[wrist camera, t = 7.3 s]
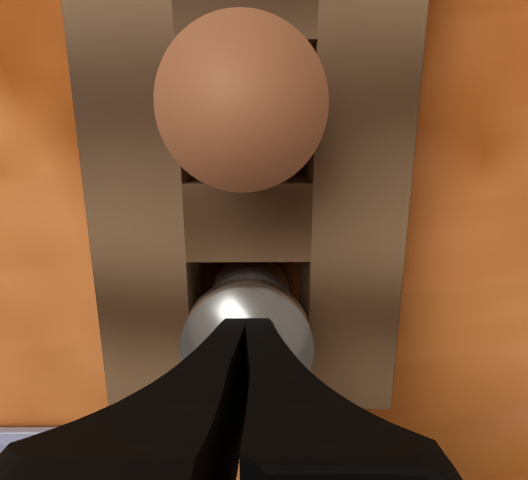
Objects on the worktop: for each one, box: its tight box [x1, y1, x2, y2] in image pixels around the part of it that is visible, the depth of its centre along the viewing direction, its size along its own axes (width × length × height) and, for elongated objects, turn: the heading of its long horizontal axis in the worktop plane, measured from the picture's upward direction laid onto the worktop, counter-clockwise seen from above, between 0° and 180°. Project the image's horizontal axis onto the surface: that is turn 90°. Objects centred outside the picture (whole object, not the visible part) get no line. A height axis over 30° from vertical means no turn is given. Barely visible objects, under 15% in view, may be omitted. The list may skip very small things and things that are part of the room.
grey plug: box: [180, 262, 314, 371], centre depth 13 cm, size 4×4×4 cm
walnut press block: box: [61, 0, 429, 409], centre depth 13 cm, size 20×10×3 cm, turn 0°
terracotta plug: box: [153, 7, 329, 193], centre depth 10 cm, size 4×4×4 cm
